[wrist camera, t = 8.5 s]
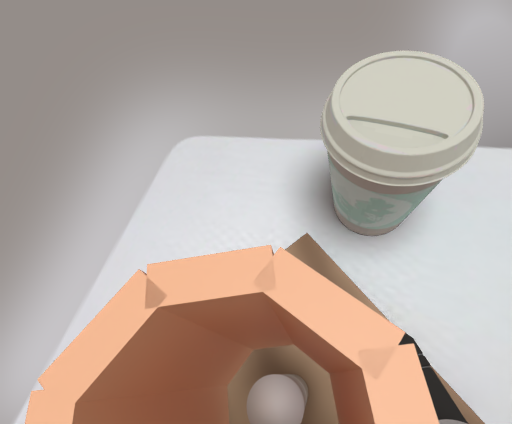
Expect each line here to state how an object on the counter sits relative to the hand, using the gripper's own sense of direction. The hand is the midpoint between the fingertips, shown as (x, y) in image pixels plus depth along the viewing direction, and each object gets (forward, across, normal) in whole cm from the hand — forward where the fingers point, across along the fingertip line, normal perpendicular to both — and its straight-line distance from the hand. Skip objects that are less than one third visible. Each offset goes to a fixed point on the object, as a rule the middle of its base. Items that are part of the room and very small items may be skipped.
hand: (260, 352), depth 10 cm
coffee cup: (+18, -9, +2) cm, 20 cm away
